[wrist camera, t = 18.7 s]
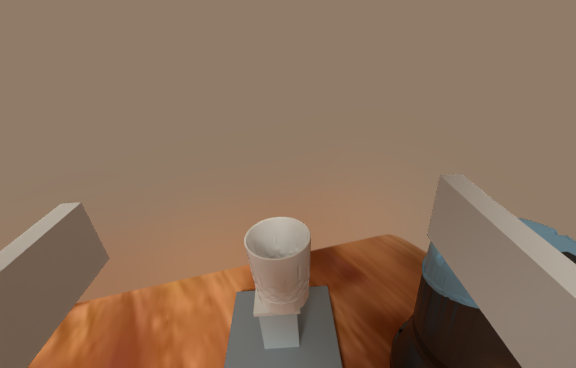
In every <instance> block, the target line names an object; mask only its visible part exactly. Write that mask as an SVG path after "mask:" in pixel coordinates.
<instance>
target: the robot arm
mask: <svg viewBox="0 0 576 368" xmlns="http://www.w3.org/2000/svg"><path fill="white" fill-rule="evenodd" d="M427 236H428V237H429V239H430V240H431V243H430V246H429V249H428V252H427V255H426V256H425V258H424V260H423V263H422V276H421V281H420V286H419V291H418V295H417V300H416V305H415V310H414V314H413V315H412V316H411V317H410V318H409V320H408V321H407V322H405V323H404V324H403V325H402V326H401V327H400V329H399V330H398V332H397V333H396V335H395V337H394V340H393V344H392V349H391V355H390V367H391V368H576V241H574V240H573V239H572V238H570V237H568V236H563V235H557V231H556V230H555V229H553V228H550V227H548V226H546V225H543V224H540V223H536V222H533V221H530V220H525V219H521V218H517V217H515V216H514V215H513V214H512V213H510V212H509V211H508V210H506V209H505V208H504V207H503V206H501V205H500V204H499V203H498V202H496V201H495V200H494V199H493V198H491V197H490V196H489V195H487V194H486V193H485V192H484V191H482V190H481V189H480V188H478V187H477V186H476V185H475V184H473V183H472V182H471V181H470V180H468V179H467V178H466V177H465V176H463V175H462V174H452V175H440V177H439V182H438V187H437V192H436V196H435V201H434V206H433V210H432V215H431V220H430V225H429V229H428V234H427ZM108 259H109V256H108V255H107V253H106V250H105V249H104V247H103V245H102V243H101V241H100V239H99V237H98V235H97V233H96V231H95V229H94V227H93V225H92V223H91V221H90V219H89V217H88V215H87V213H86V211H85V209H84V207H83V205H82V203H81V202H80V203H67V204H60V205H59V206H57V207H56V208H55V209H54V210H52V211H51V212H50V213H48V214H47V215H46V216H45V217H43V218H42V219H41V220H40V221H38V222H37V223H36V224H34V225H33V226H32V227H31V228H29V229H28V230H27V231H25V232H24V233H23V234H22V235H20V236H19V237H18V238H17V239H15V240H14V241H13V242H12V243H10V244H9V245H8V246H7V247H5V248H4V249H3V250H1V251H0V368H27V367H28V366H29V365H30V363H31V362H32V361H33V359H34V358H35V357H36V355H37V354H38V353H39V351H40V350H41V349H42V347H43V346H44V345H45V343H46V342H47V341H48V339H49V338H50V337H51V335H52V334H53V333H54V331H55V330H56V329H57V327H58V326H59V325H60V323H61V322H62V321H63V319H64V318H65V317H66V315H67V314H68V313H69V312H70V310H71V309H72V308H73V306H74V305H75V304H76V302H77V301H78V300H79V298H80V297H81V295H82V294H83V293H84V291H85V290H86V289H87V288H88V286H89V285H90V283H91V282H92V281H93V280H94V278H95V277H96V276H97V274H98V273H99V271H100V270H101V269H102V268H103V266H104V265H105V264H106V262H107V261H108Z"/></svg>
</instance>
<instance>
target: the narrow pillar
mask: <svg viewBox="0 0 576 368" xmlns="http://www.w3.org/2000/svg"><path fill="white" fill-rule="evenodd" d="M224 368H342V363H341V358H340V352H339V347H338V341H337V336H336V330H335V325H334V320H333V314H332V309H331V303H330V298H329V292H328V287H327V286H314V287H309V297H308V299H307V301H306V303H305V305H304V306H303V307H302V308H300V309H299V310H297V311H296V312H295V313H291V314H286V315H279V314H273V313H271V312H269V311H268V310H267V309H265V308H264V307H263V306H262V303H261V301H260V299H259V296H258V291H257V289H256V291H242V292H237V294H236V300H235V306H234V312H233V318H232V324H231V330H230V336H229V342H228V347H227V353H226V359H225V365H224Z"/></svg>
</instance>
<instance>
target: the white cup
mask: <svg viewBox="0 0 576 368" xmlns="http://www.w3.org/2000/svg"><path fill="white" fill-rule="evenodd" d="M310 242H311V234H310V231H309V229H308V227H307V226H306V225H305V224H304V223H303V222H301V221H299V220H297V219H293V218H289V217H273V218H268V219H265V220H262V221H260V222H258V223H256V224H255V225H254V226H252V227H251V228H250V229H249V230H248V232H247V233H246V235H245V239H244V244H245V248H246V252H247V256H248V260H249V264H250V268H251V272H252V276H253V279H254V283H255V286H256V289H257V291H258V296H259V299H260V301H261V303H262V306H263V307H264V308H265V309H267V310H268V311H269V312H271V313H273V314H279V315H286V314H291V313H295V312H296V311H297V310H299V309H300V308H302V307H303V306H304V305H305V303H306V301H307V299H308V297H309V279H310V244H311V243H310Z"/></svg>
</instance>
